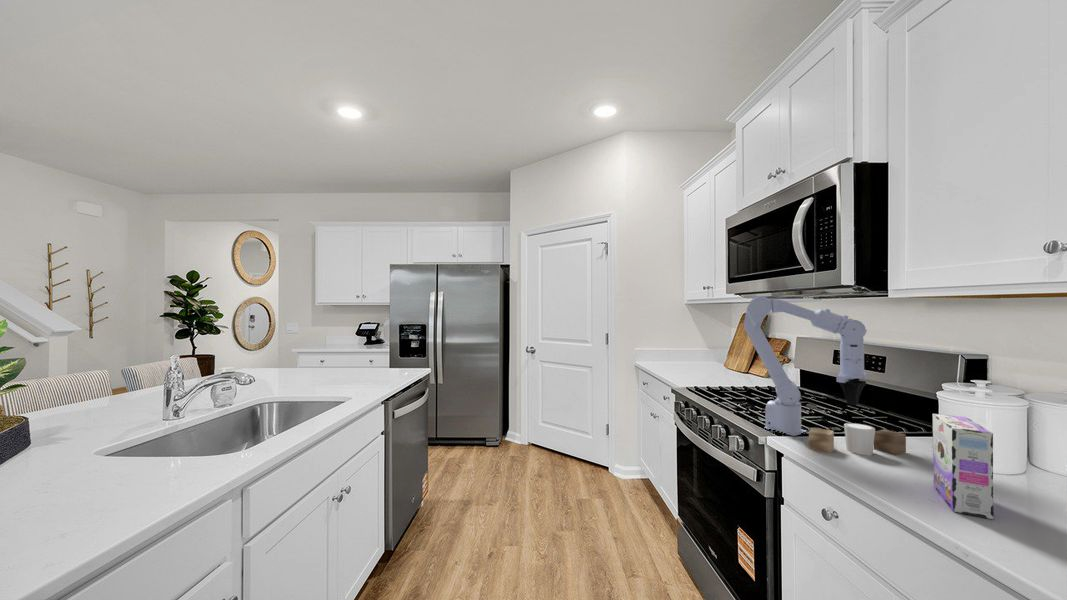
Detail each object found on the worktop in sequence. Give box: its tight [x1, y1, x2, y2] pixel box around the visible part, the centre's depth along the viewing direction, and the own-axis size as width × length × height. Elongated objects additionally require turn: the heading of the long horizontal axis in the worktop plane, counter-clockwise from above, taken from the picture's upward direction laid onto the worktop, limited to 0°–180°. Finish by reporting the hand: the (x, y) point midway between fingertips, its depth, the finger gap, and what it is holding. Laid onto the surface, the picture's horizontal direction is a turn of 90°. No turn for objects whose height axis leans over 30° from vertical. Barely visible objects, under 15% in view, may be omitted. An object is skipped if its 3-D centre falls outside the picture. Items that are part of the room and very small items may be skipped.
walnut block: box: [873, 429, 907, 456], centre depth 115 cm, size 5×5×5 cm
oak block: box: [808, 427, 835, 454], centre depth 117 cm, size 5×5×5 cm
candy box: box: [931, 413, 995, 520], centre depth 85 cm, size 14×6×16 cm, turn 148°
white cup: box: [843, 422, 876, 456], centre depth 114 cm, size 7×7×7 cm
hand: (852, 404), depth 125 cm, fingers closed
